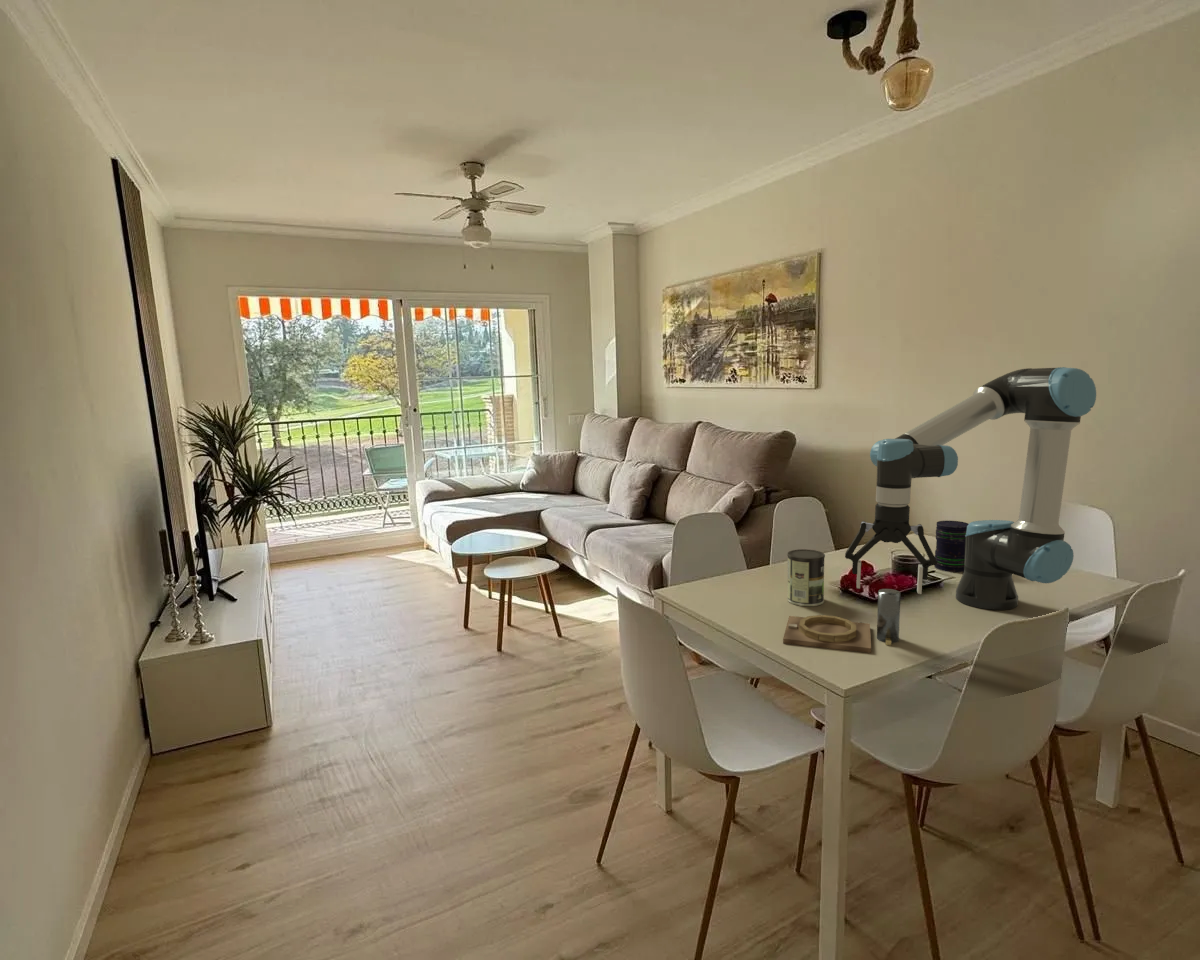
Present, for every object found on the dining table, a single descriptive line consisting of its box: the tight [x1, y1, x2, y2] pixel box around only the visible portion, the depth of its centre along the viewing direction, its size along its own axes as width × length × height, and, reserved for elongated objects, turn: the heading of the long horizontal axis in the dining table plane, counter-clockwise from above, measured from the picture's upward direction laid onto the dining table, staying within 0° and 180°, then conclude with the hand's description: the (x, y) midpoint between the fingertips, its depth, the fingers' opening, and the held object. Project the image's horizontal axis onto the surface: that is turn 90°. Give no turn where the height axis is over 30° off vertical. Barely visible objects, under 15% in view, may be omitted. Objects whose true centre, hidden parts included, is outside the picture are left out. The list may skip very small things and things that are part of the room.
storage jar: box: [934, 520, 969, 573], centre depth 215 cm, size 10×10×15 cm
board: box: [782, 614, 872, 654], centre depth 164 cm, size 20×16×3 cm
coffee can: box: [786, 548, 826, 607], centre depth 189 cm, size 10×10×14 cm
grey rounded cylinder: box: [876, 588, 902, 646], centre depth 160 cm, size 5×8×12 cm, turn 159°
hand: (888, 589), depth 159 cm, fingers open, 13 cm apart
